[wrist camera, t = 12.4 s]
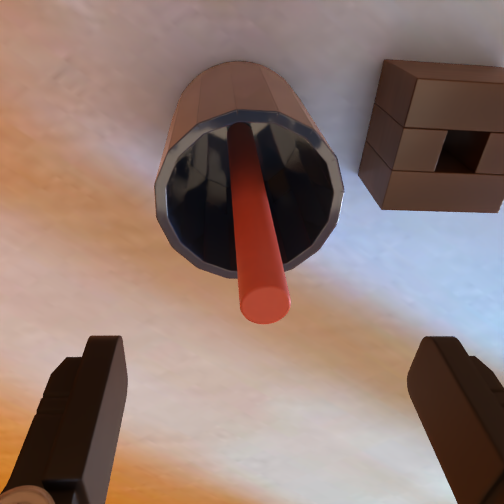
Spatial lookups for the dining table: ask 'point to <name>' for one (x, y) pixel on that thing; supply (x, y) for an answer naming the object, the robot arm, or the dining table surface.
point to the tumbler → (271, 162)
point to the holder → (436, 138)
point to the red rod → (254, 234)
